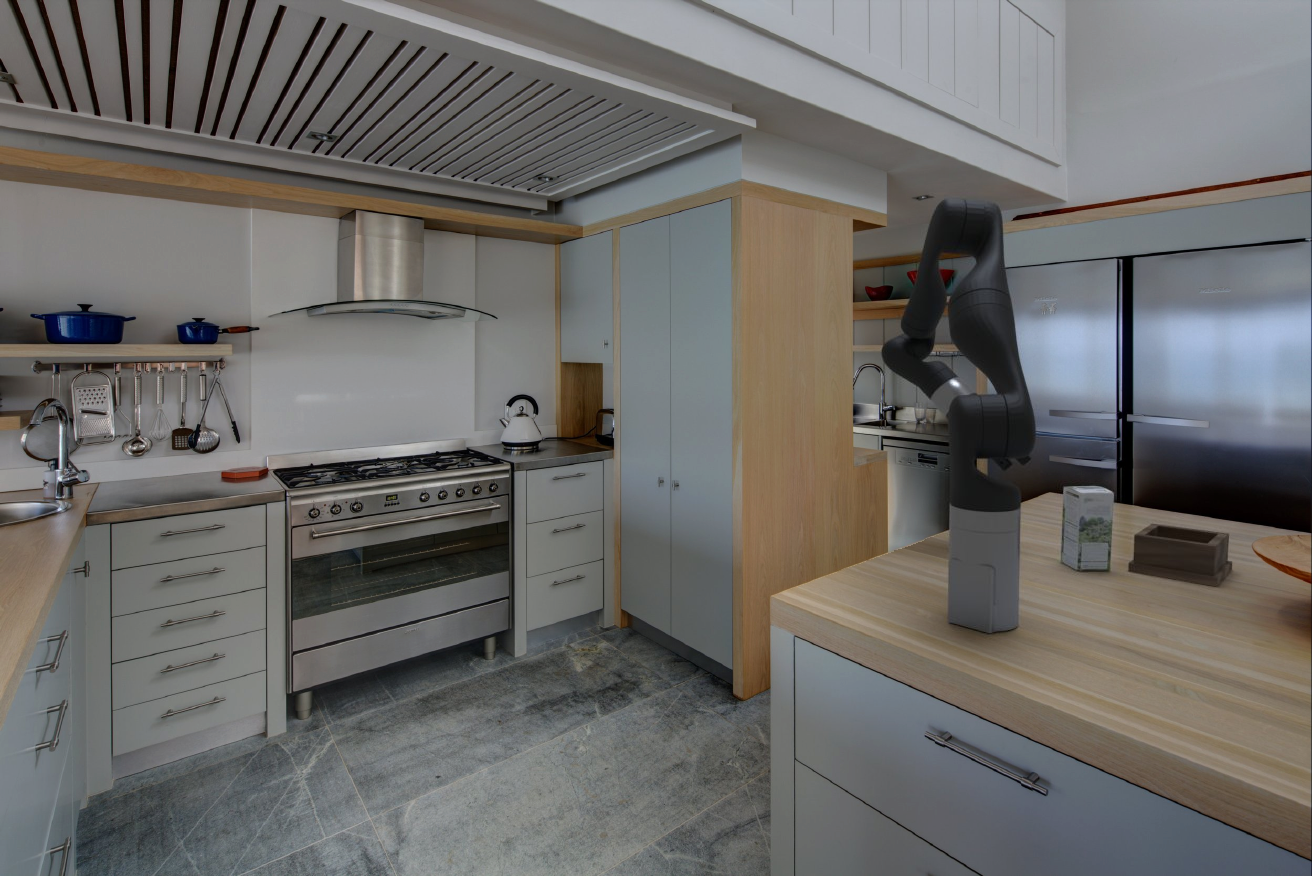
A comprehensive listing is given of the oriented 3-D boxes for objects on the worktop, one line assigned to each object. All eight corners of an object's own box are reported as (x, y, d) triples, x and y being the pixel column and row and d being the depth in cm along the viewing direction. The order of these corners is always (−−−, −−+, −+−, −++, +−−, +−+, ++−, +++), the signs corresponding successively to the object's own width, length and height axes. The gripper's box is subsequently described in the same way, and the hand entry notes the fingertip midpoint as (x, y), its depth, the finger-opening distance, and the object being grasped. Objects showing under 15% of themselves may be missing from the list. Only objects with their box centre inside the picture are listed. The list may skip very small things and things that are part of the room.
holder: (1216, 586, 105) (1218, 547, 105) (1128, 571, 114) (1129, 535, 114) (1231, 569, 113) (1233, 533, 112) (1147, 556, 122) (1149, 522, 121)
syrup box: (1092, 561, 120) (1095, 484, 119) (1111, 571, 115) (1114, 490, 113) (1060, 562, 121) (1062, 485, 119) (1077, 572, 115) (1079, 491, 114)
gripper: (956, 393, 125) (1019, 457, 118) (989, 389, 134) (1048, 448, 127) (930, 420, 130) (988, 482, 123) (963, 414, 139) (1019, 472, 132)
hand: (1019, 465), depth 125 cm, fingers open, 8 cm apart
